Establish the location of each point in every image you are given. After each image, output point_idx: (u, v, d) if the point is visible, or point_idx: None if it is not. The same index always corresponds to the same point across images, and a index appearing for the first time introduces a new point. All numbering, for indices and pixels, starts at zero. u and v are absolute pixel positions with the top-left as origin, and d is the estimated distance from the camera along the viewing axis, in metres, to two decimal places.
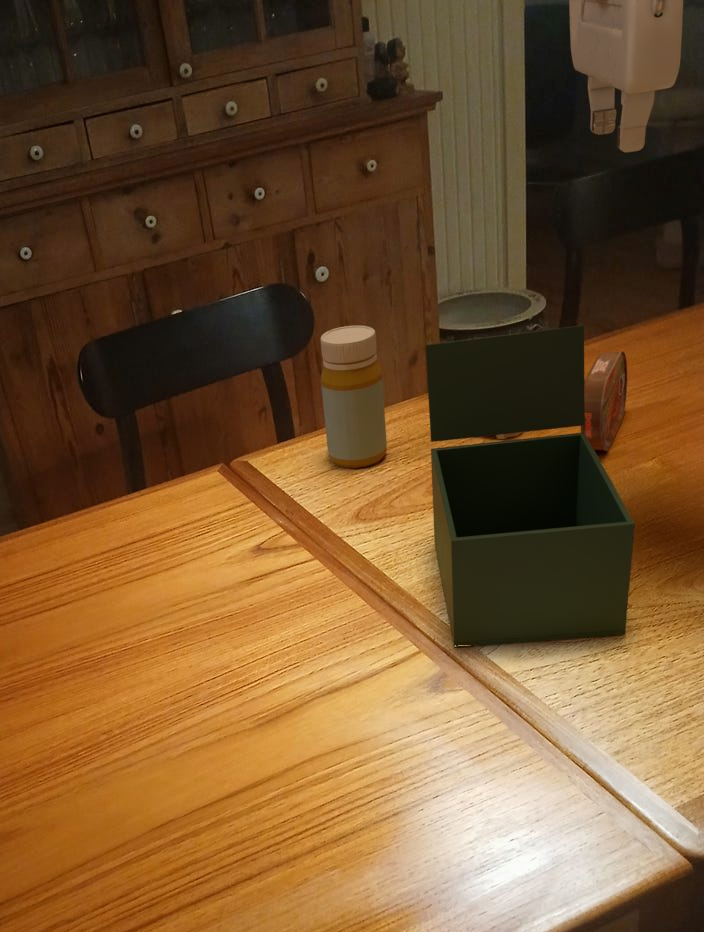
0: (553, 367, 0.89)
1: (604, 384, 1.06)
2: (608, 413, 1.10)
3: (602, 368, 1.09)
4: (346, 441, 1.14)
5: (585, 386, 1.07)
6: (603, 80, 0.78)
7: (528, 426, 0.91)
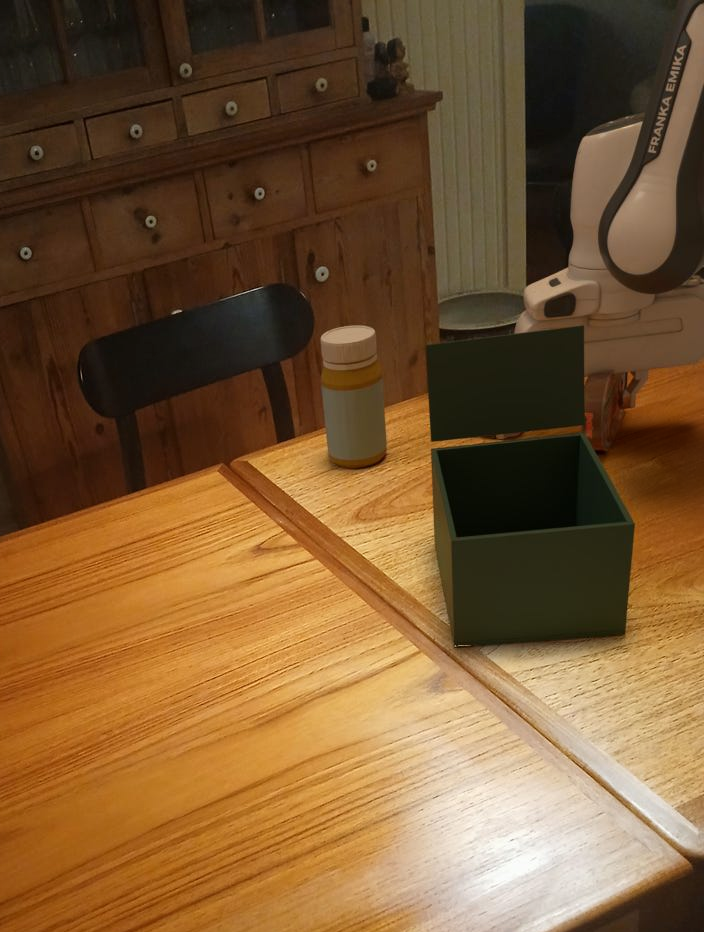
0: (553, 367, 0.89)
1: (606, 384, 1.05)
2: (609, 413, 1.10)
3: None
4: (346, 441, 1.14)
5: (587, 386, 1.06)
6: (630, 370, 1.07)
7: (528, 426, 0.91)
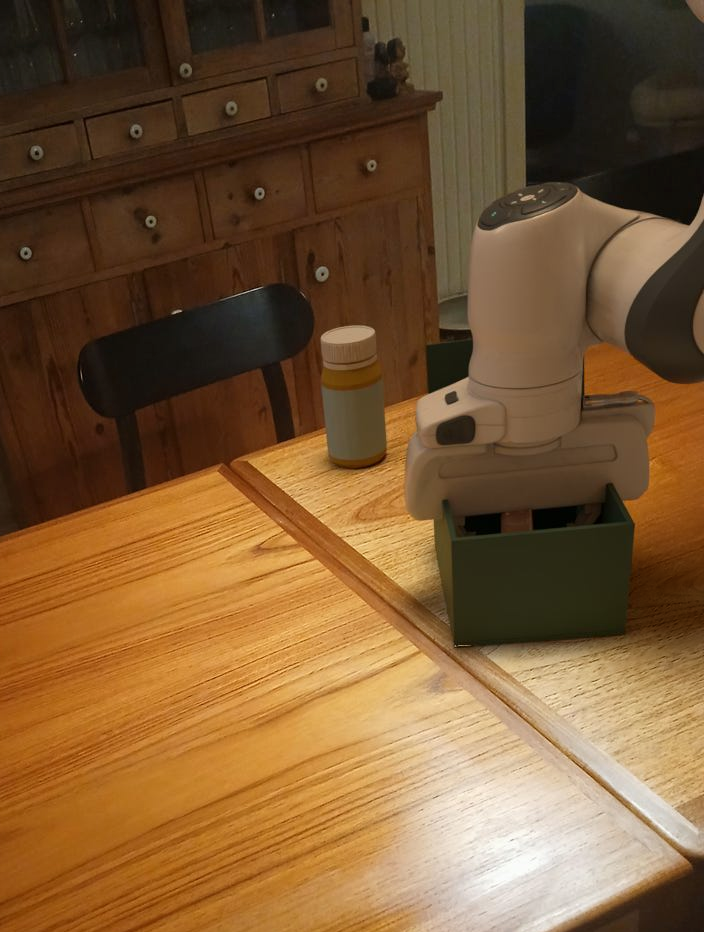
0: None
1: (530, 530, 0.82)
2: None
3: None
4: (346, 441, 1.14)
5: None
6: (551, 506, 0.84)
7: None
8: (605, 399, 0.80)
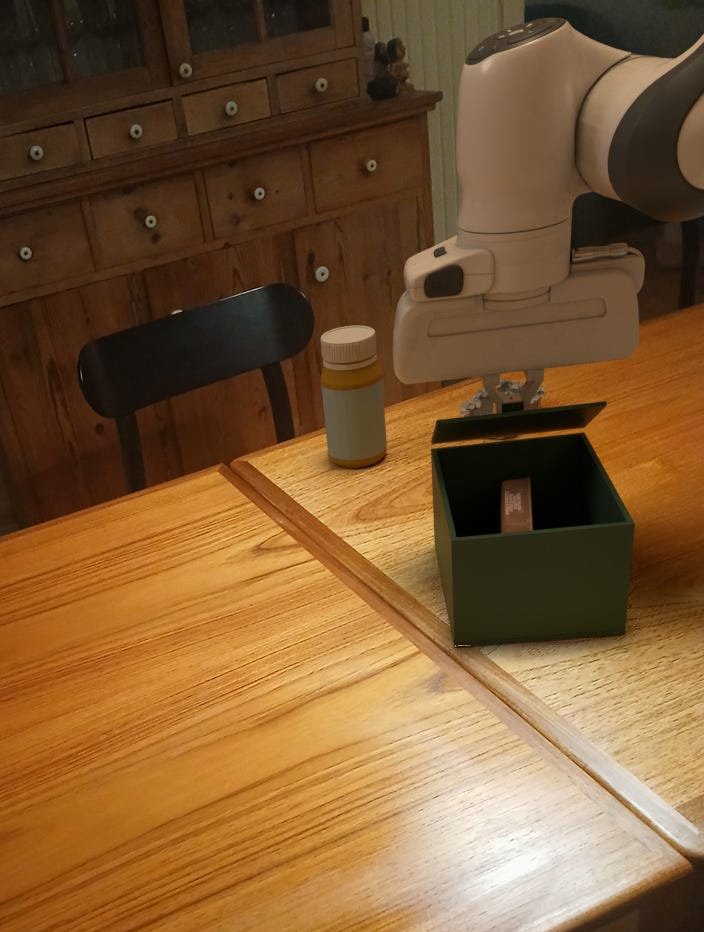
0: (565, 418, 0.86)
1: (530, 530, 0.82)
2: None
3: (516, 505, 0.85)
4: (346, 441, 1.14)
5: None
6: (540, 367, 0.83)
7: (529, 433, 0.91)
8: (595, 251, 0.79)
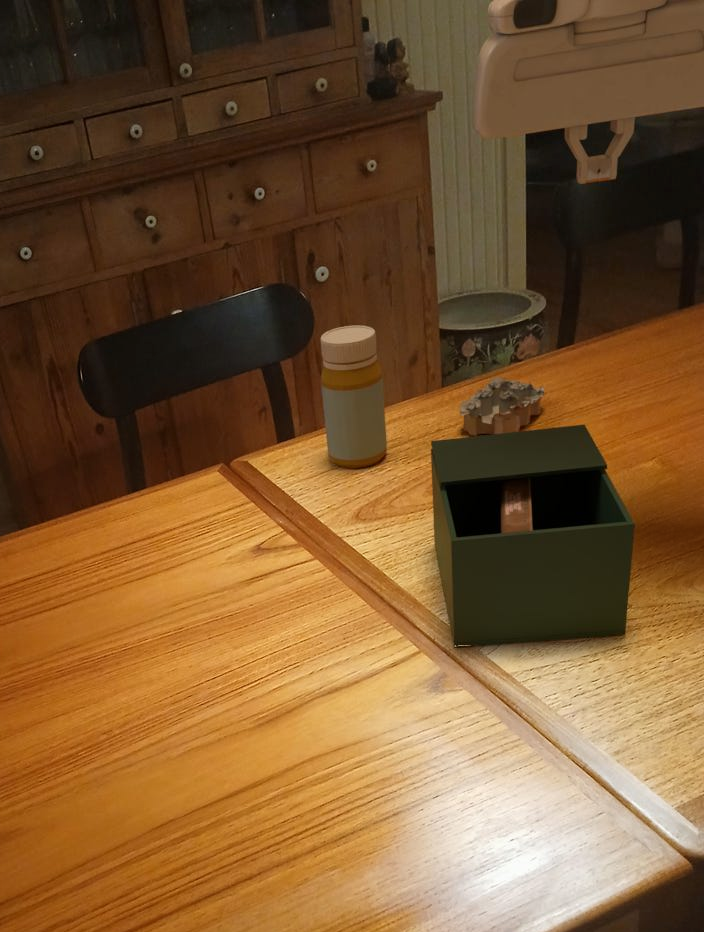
0: None
1: (530, 530, 0.82)
2: None
3: (516, 505, 0.85)
4: (346, 441, 1.14)
5: None
6: (632, 114, 0.79)
7: None
8: None
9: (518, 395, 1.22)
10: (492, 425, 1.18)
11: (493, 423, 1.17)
